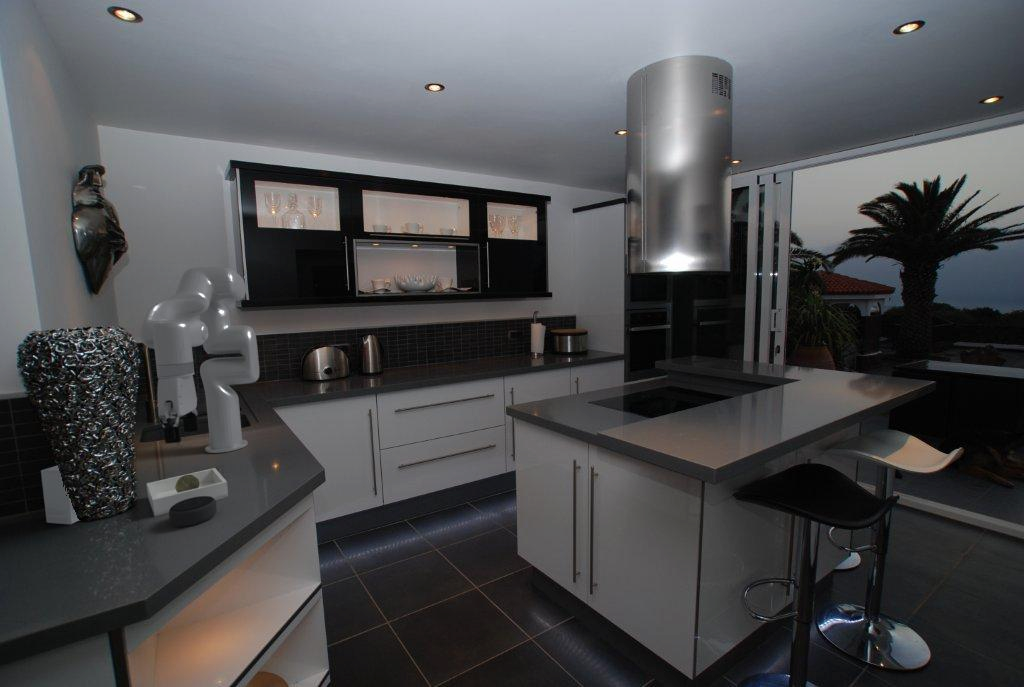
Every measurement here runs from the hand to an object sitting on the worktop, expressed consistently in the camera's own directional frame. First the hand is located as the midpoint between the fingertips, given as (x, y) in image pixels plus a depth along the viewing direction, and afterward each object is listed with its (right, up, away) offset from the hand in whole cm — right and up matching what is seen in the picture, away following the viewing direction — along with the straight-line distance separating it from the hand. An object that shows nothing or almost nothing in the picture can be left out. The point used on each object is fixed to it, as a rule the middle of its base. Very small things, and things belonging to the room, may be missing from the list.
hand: (182, 436), depth 117 cm
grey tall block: (-19, -18, -8) cm, 27 cm away
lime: (+1, -15, +1) cm, 15 cm away
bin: (+1, -16, +1) cm, 16 cm away
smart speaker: (+11, -17, -12) cm, 23 cm away
